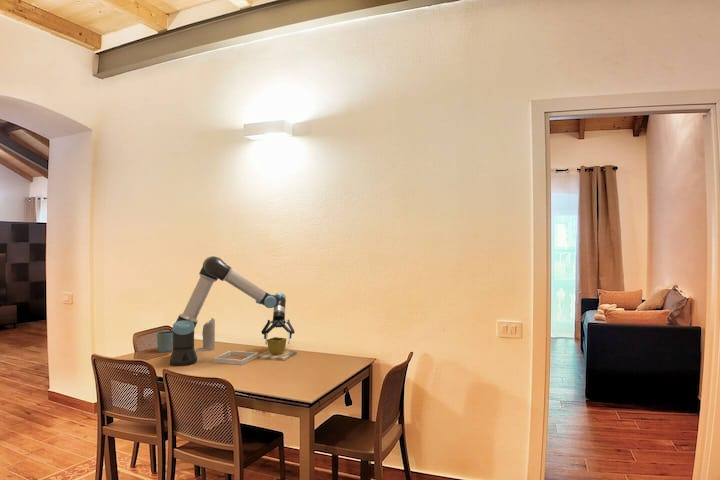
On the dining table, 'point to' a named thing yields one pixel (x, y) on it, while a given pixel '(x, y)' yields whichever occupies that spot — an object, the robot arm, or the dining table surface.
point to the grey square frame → (233, 361)
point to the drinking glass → (165, 341)
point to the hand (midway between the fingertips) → (277, 343)
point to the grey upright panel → (208, 336)
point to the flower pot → (276, 345)
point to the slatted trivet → (282, 356)
